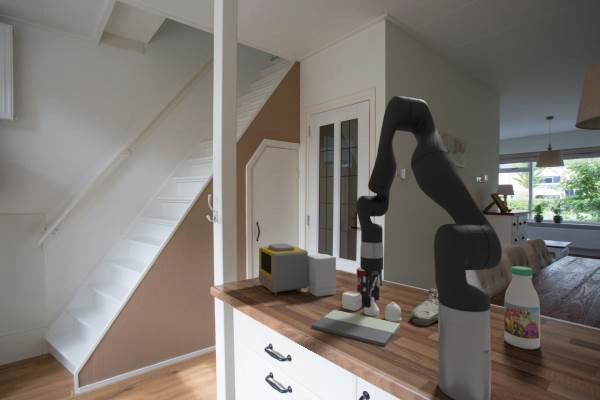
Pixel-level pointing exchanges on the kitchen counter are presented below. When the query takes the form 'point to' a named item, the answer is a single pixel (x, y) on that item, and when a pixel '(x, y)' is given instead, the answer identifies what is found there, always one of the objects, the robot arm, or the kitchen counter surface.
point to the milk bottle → (522, 310)
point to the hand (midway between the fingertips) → (371, 303)
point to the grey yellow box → (283, 267)
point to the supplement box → (321, 275)
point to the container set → (354, 303)
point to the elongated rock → (426, 310)
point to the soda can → (359, 274)
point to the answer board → (358, 327)
